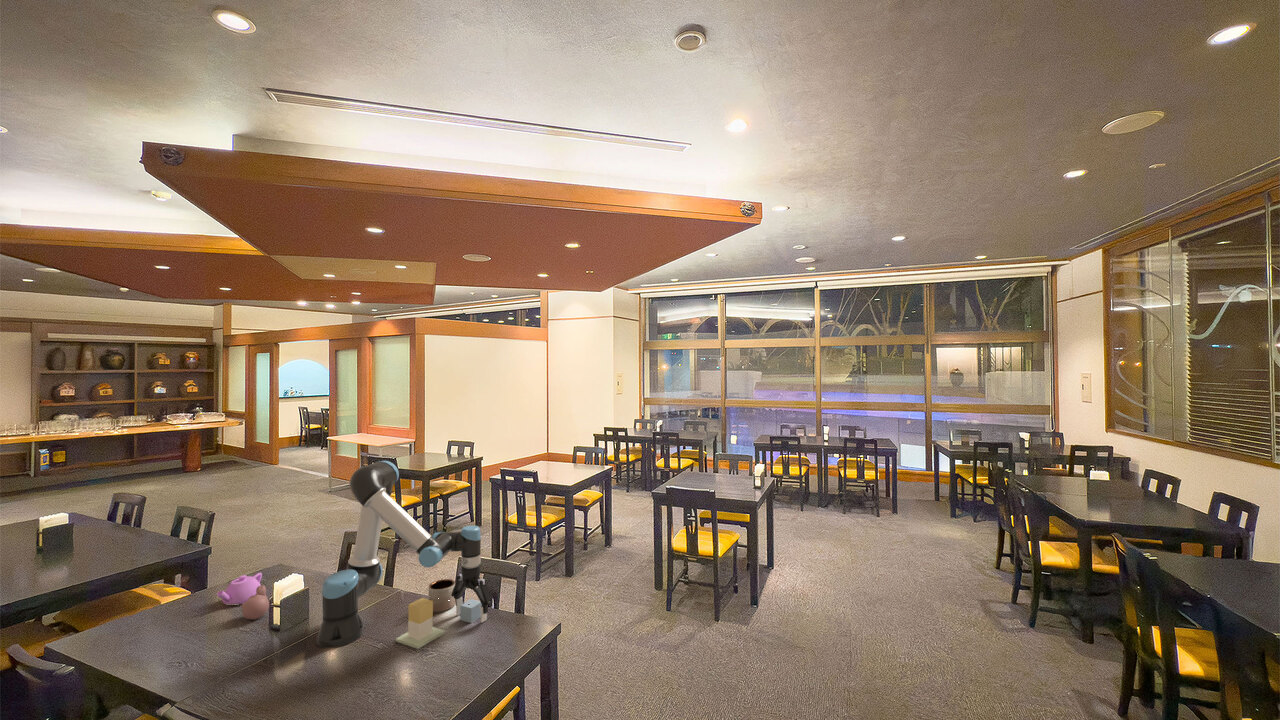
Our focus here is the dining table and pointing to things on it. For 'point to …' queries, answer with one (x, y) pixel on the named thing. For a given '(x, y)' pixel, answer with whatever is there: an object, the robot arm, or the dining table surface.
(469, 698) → the dining table surface
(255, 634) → the dining table surface
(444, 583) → the planter
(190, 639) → the dining table surface
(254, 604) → the figurine
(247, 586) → the teapot
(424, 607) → the ochre brick
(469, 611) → the blue brick
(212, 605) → the dining table surface
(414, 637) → the baseplate
